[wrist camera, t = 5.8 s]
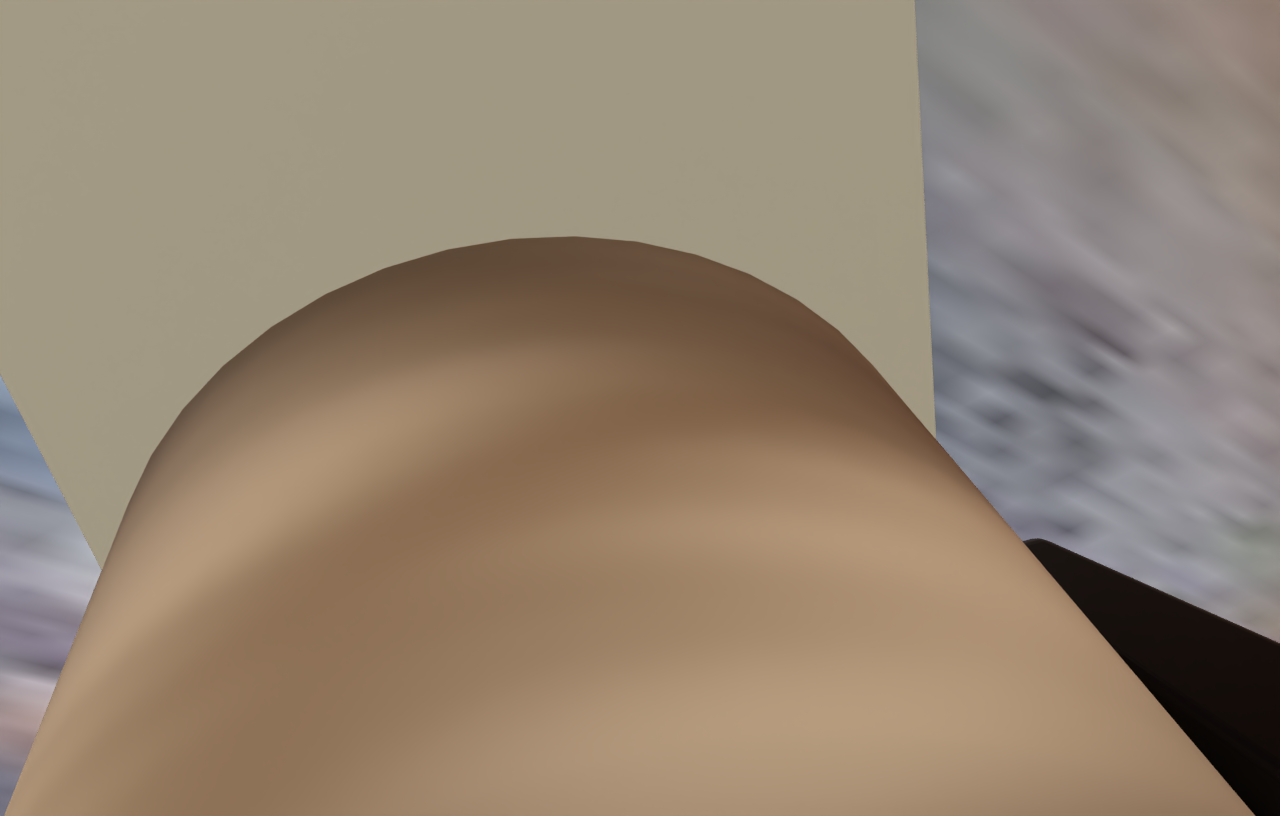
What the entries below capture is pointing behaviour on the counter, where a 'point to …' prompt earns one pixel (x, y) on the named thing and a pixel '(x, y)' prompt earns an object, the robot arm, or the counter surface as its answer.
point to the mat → (422, 177)
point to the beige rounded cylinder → (581, 577)
